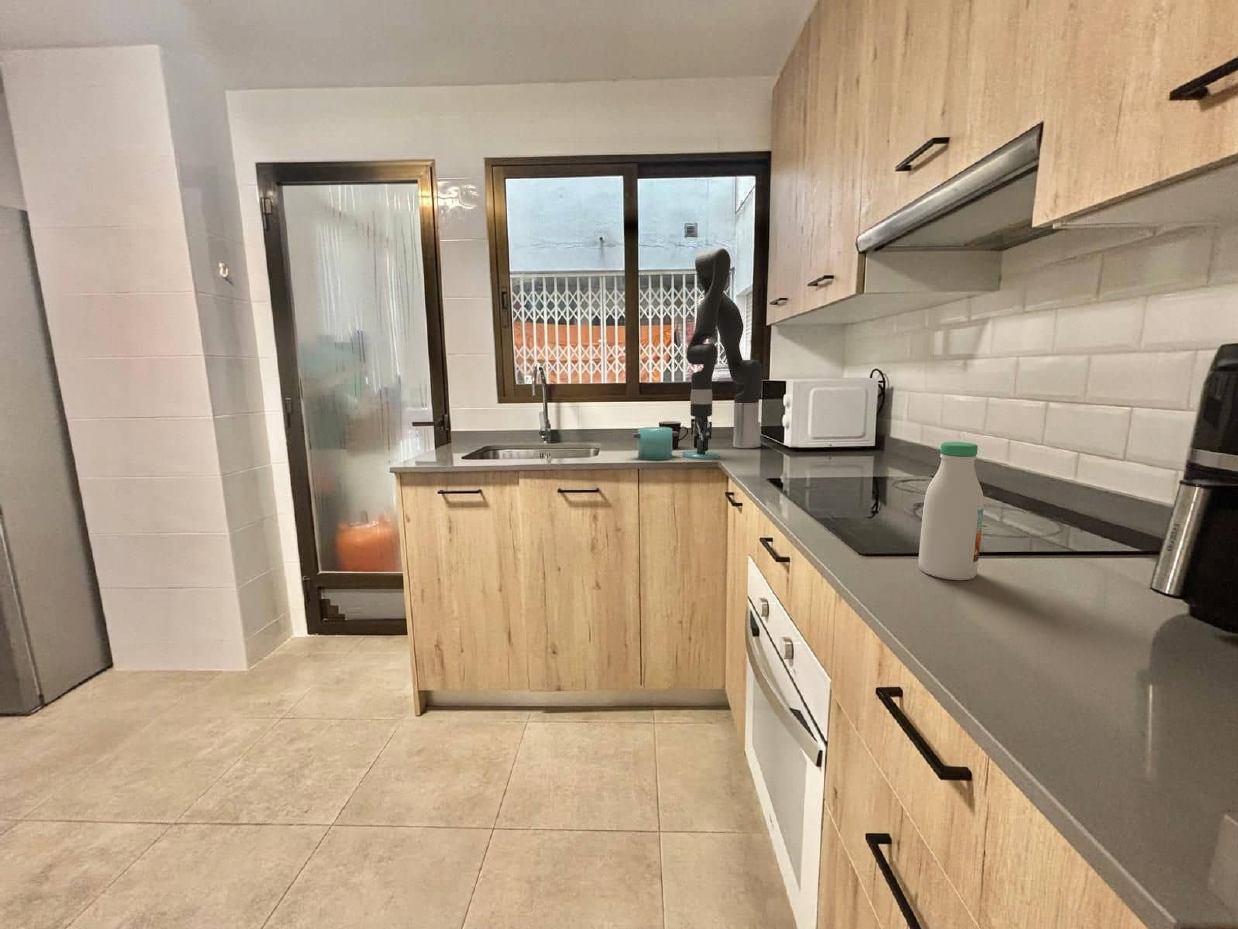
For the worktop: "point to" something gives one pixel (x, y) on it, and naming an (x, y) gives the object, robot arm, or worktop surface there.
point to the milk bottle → (952, 516)
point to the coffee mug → (675, 427)
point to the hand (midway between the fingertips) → (700, 449)
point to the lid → (700, 453)
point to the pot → (655, 442)
